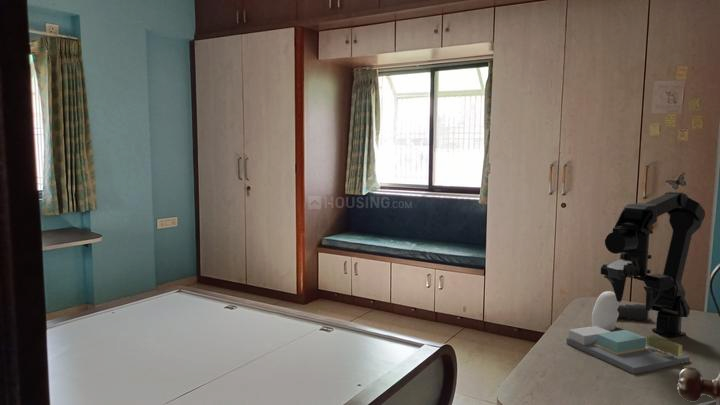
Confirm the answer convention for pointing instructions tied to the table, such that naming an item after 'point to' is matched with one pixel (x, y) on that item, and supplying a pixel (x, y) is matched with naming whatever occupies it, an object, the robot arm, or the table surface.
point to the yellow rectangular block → (664, 345)
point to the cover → (621, 341)
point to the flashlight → (633, 312)
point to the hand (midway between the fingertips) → (633, 305)
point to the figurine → (605, 311)
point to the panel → (626, 360)
